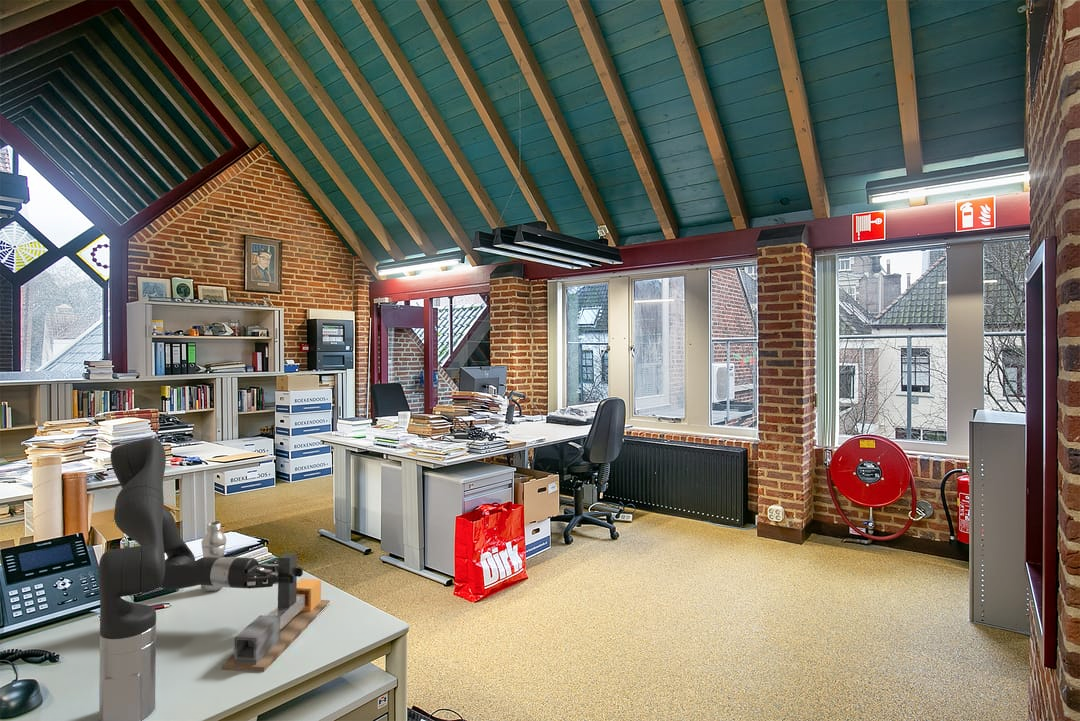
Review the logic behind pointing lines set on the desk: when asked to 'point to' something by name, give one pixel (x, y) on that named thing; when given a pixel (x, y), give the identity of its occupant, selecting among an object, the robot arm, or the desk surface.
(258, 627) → the bolt guide base
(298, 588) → the far socket
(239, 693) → the desk surface
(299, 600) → the slide bolt
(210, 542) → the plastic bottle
